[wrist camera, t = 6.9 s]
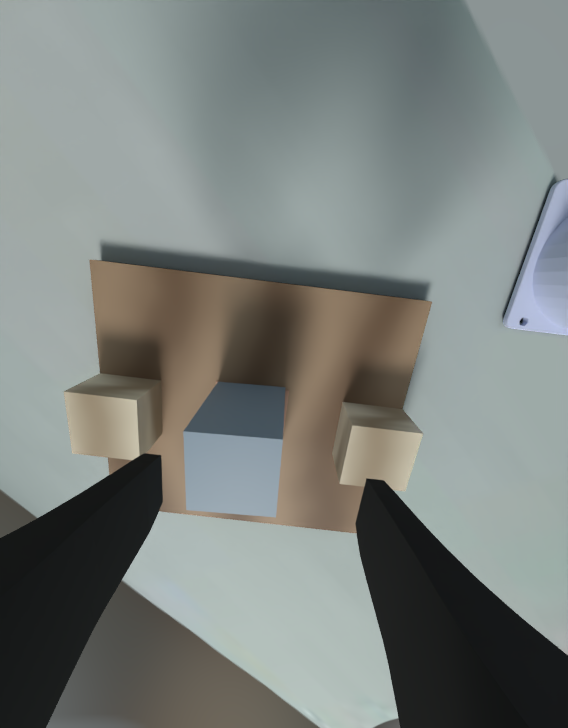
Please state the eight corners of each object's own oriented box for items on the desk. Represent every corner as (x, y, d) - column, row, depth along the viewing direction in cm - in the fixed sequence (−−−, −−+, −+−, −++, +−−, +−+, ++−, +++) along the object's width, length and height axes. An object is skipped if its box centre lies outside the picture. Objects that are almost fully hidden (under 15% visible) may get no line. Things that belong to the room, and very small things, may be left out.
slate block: (285, 387, 18) (282, 439, 12) (280, 445, 19) (276, 517, 13) (217, 381, 18) (183, 431, 12) (217, 440, 19) (186, 509, 13)
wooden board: (424, 300, 17) (462, 307, 13) (364, 523, 22) (379, 574, 19) (101, 260, 17) (44, 255, 13) (120, 496, 22) (84, 541, 18)
